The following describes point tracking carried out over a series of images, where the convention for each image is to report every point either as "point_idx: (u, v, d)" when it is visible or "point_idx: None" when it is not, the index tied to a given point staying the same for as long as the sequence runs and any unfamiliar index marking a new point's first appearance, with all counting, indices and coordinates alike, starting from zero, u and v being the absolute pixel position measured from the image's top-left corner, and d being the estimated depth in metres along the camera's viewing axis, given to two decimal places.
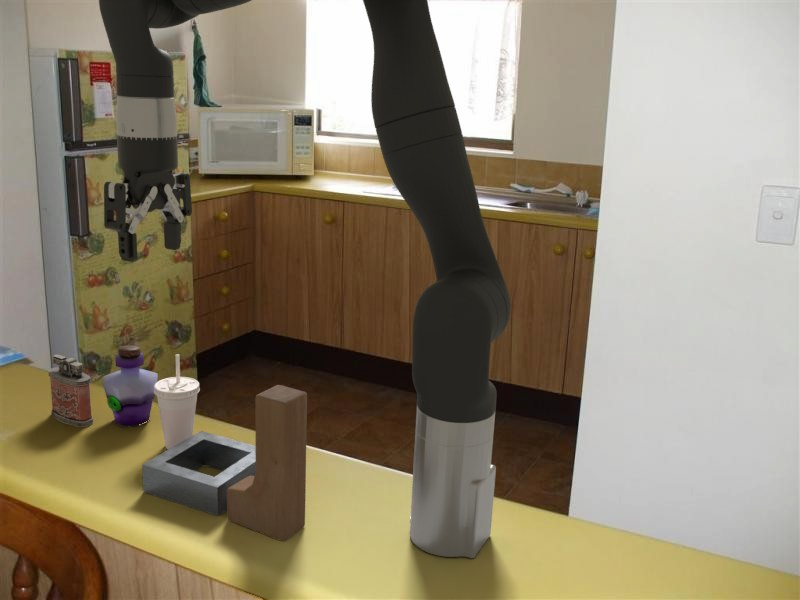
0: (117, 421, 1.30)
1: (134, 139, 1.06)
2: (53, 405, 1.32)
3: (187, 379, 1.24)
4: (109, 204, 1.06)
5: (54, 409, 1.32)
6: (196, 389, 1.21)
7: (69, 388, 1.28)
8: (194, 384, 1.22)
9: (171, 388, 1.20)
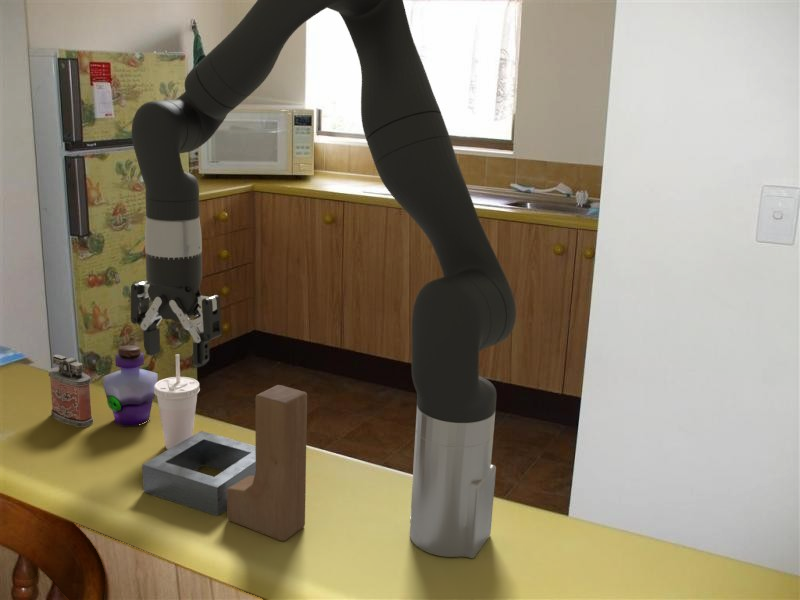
0: (117, 421, 1.30)
1: (199, 255, 1.16)
2: (53, 405, 1.32)
3: (187, 379, 1.24)
4: (213, 317, 1.16)
5: (54, 409, 1.32)
6: (196, 389, 1.21)
7: (69, 388, 1.28)
8: (194, 384, 1.22)
9: (171, 388, 1.20)
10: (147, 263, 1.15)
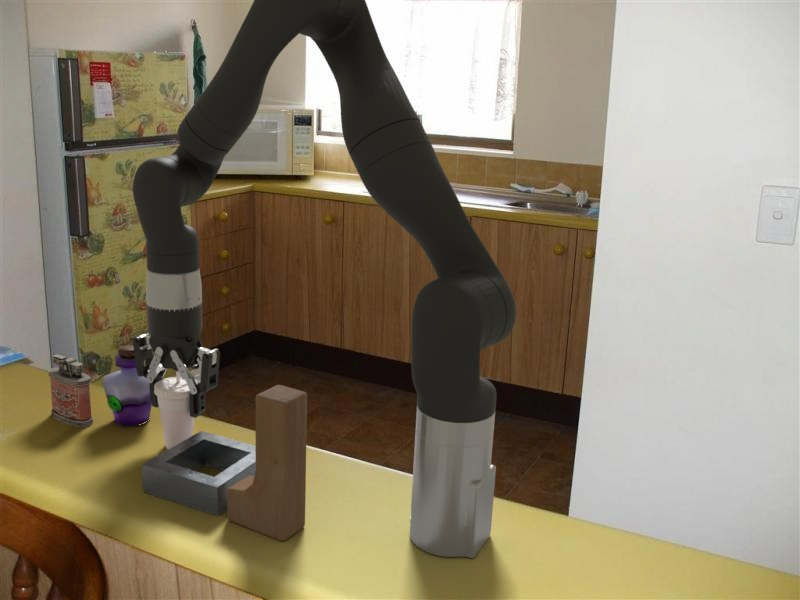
0: (117, 421, 1.30)
1: (200, 306, 1.18)
2: (53, 405, 1.32)
3: None
4: (212, 370, 1.18)
5: (54, 409, 1.32)
6: None
7: (69, 388, 1.28)
8: None
9: (171, 388, 1.20)
10: (148, 315, 1.17)
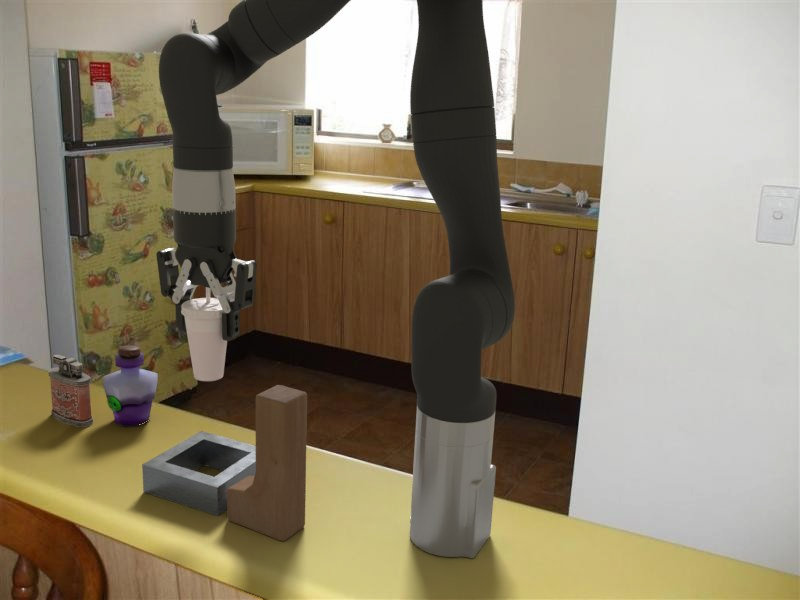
0: (117, 421, 1.30)
1: (233, 211, 1.03)
2: (53, 405, 1.32)
3: (218, 300, 1.09)
4: (248, 285, 1.03)
5: (54, 409, 1.32)
6: None
7: (69, 388, 1.28)
8: None
9: (201, 307, 1.05)
10: (175, 220, 1.02)
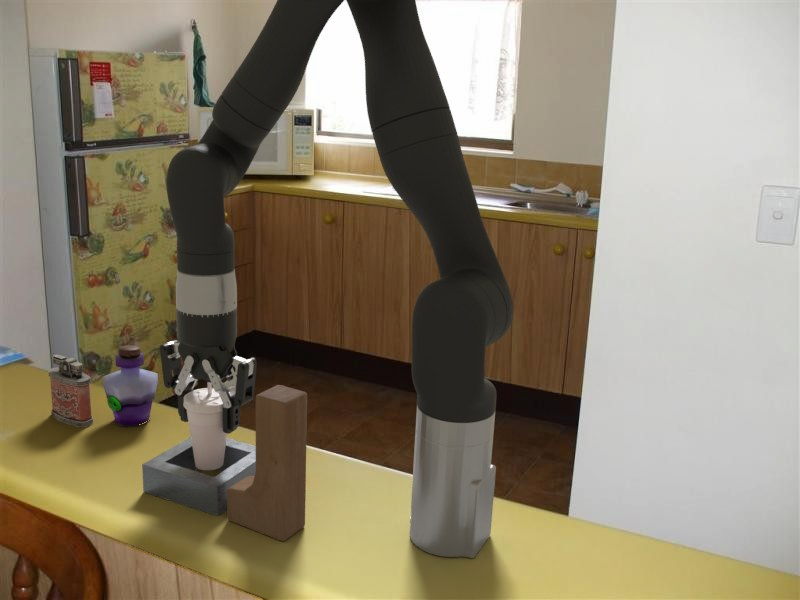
0: (117, 421, 1.30)
1: (235, 311, 1.07)
2: (53, 405, 1.32)
3: None
4: (248, 382, 1.07)
5: (54, 409, 1.32)
6: None
7: (69, 388, 1.28)
8: None
9: (202, 401, 1.09)
10: (178, 320, 1.05)
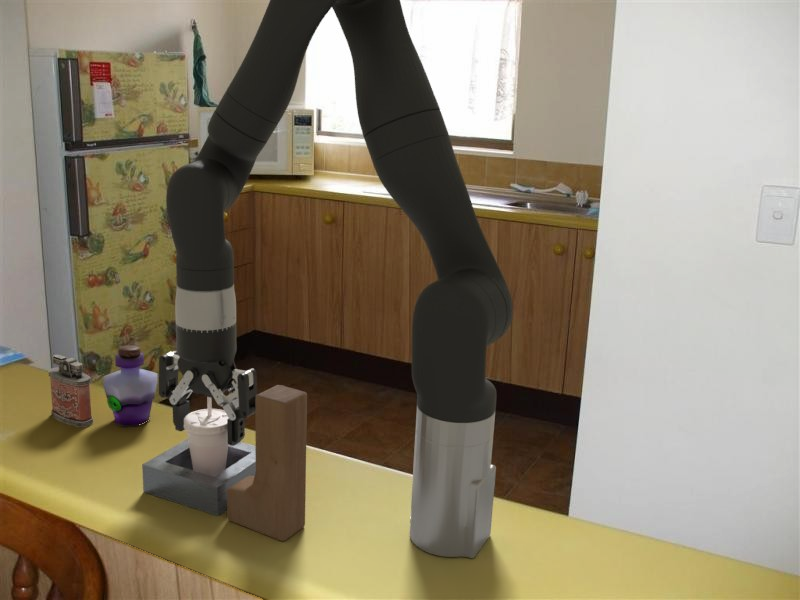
0: (117, 421, 1.30)
1: (234, 326, 1.07)
2: (53, 405, 1.32)
3: (219, 411, 1.13)
4: (250, 393, 1.07)
5: (54, 409, 1.32)
6: None
7: (69, 388, 1.28)
8: (227, 417, 1.12)
9: (202, 422, 1.09)
10: (178, 336, 1.06)
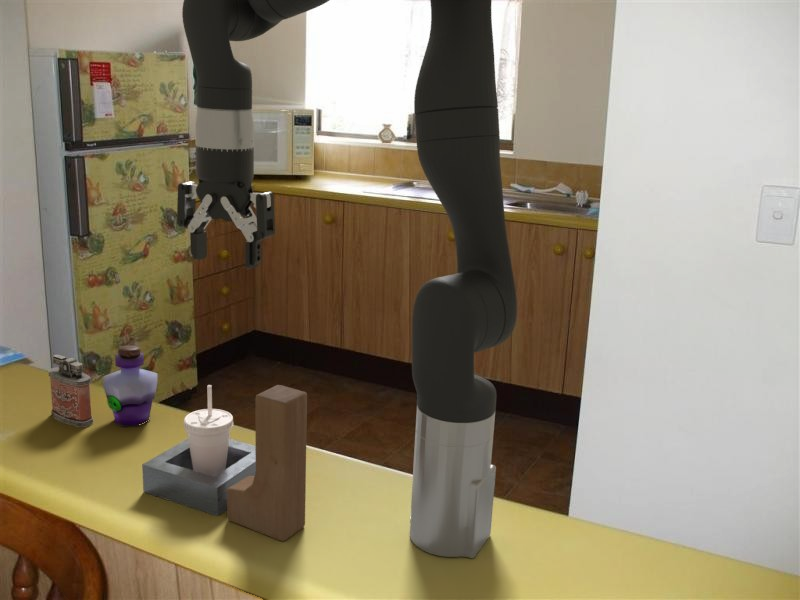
0: (117, 421, 1.30)
1: (252, 149, 1.11)
2: (53, 405, 1.32)
3: (219, 412, 1.13)
4: (267, 214, 1.11)
5: (54, 409, 1.32)
6: (230, 423, 1.11)
7: (69, 388, 1.28)
8: (227, 417, 1.12)
9: (203, 423, 1.09)
10: (198, 157, 1.10)
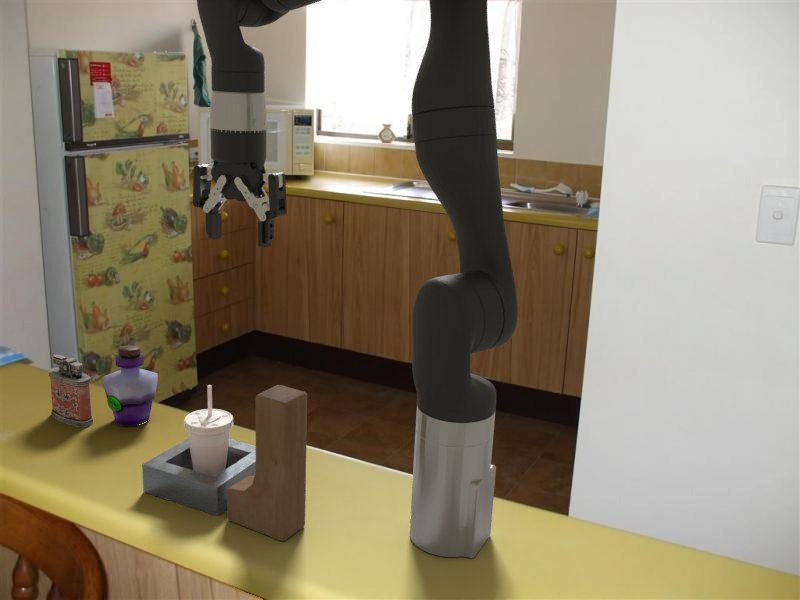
0: (117, 421, 1.30)
1: (265, 132, 1.15)
2: (53, 405, 1.32)
3: (219, 412, 1.13)
4: (279, 193, 1.15)
5: (54, 409, 1.32)
6: (230, 423, 1.11)
7: (69, 388, 1.28)
8: (227, 417, 1.12)
9: (203, 423, 1.09)
10: (213, 139, 1.14)
